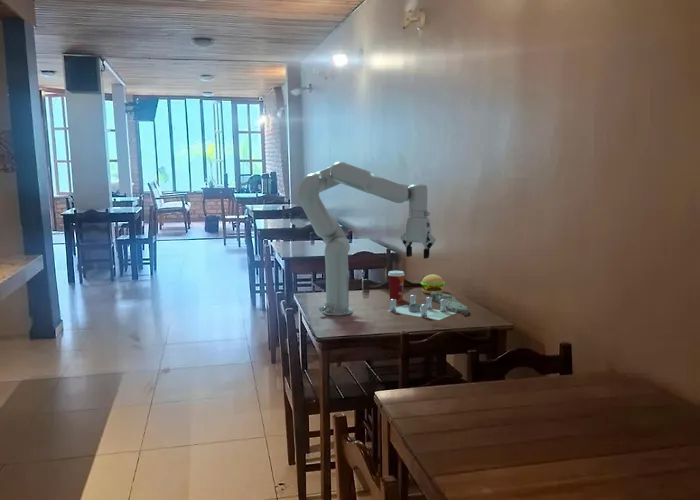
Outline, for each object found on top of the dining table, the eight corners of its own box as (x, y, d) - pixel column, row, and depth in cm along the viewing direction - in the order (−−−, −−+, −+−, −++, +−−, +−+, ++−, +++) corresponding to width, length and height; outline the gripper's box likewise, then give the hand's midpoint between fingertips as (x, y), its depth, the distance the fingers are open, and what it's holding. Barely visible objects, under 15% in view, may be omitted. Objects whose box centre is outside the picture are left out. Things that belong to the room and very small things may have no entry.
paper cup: (405, 304, 264) (405, 273, 262) (388, 304, 264) (388, 273, 262) (404, 300, 272) (404, 270, 270) (387, 300, 272) (387, 270, 270)
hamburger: (447, 294, 283) (447, 277, 282) (422, 294, 283) (422, 277, 282) (442, 289, 295) (443, 272, 294) (418, 289, 295) (419, 272, 294)
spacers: (429, 318, 234) (429, 306, 233) (388, 311, 246) (388, 299, 246) (447, 311, 245) (447, 299, 245) (407, 304, 258) (408, 293, 257)
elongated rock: (451, 320, 242) (474, 319, 244) (452, 307, 241) (475, 307, 243) (424, 297, 276) (444, 297, 278) (425, 286, 275) (445, 286, 277)
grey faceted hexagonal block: (418, 312, 244) (418, 306, 244) (406, 311, 246) (406, 305, 246) (421, 310, 248) (421, 304, 248) (409, 309, 250) (409, 303, 250)
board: (439, 322, 232) (439, 319, 232) (386, 313, 247) (386, 310, 247) (456, 315, 243) (456, 313, 243) (405, 306, 258) (405, 304, 258)
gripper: (441, 215, 238) (440, 258, 241) (405, 213, 249) (404, 254, 251) (431, 216, 232) (431, 260, 235) (395, 214, 243) (395, 256, 246)
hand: (417, 257), depth 243 cm, fingers open, 7 cm apart
